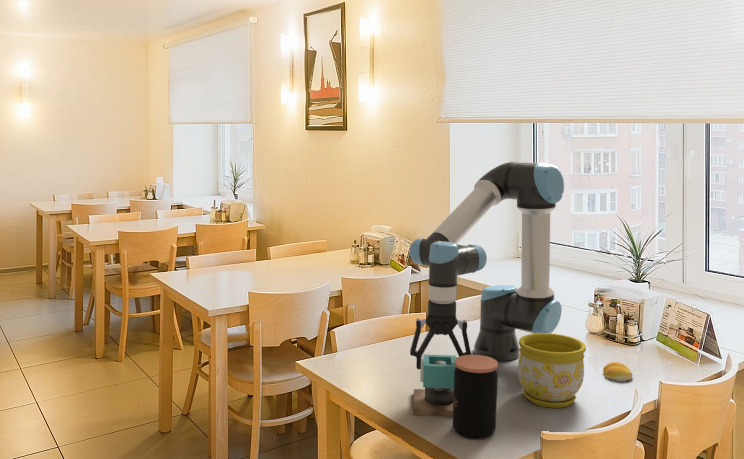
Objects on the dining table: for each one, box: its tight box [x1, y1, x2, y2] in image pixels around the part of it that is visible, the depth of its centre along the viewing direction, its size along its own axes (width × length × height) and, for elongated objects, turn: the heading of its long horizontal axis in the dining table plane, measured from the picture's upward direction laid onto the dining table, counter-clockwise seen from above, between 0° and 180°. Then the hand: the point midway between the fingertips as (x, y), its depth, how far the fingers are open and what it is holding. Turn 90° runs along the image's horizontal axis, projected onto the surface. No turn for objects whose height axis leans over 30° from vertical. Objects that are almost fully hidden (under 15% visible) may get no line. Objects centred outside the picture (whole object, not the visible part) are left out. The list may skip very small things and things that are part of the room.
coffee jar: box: [452, 354, 499, 440], centre depth 164 cm, size 11×11×18 cm
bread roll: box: [602, 361, 633, 382], centre depth 203 cm, size 8×9×4 cm
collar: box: [422, 353, 457, 389], centre depth 179 cm, size 9×9×6 cm
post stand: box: [412, 361, 454, 417], centre depth 179 cm, size 14×14×12 cm
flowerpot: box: [517, 333, 587, 409], centre depth 184 cm, size 18×18×16 cm
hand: (439, 380), depth 179 cm, fingers closed on collar, 9 cm apart
